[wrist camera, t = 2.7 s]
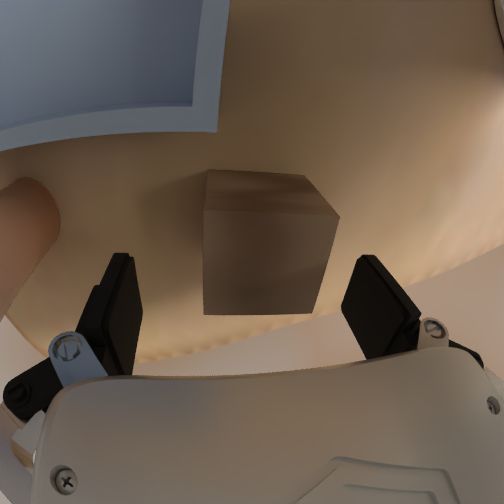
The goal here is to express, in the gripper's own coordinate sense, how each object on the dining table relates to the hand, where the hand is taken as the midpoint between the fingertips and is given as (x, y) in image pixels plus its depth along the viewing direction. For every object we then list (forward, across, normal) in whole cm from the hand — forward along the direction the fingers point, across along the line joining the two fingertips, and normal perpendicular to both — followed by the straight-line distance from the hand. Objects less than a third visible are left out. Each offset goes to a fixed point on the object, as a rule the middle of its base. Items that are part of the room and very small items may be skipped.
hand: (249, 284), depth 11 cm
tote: (+5, +10, -13) cm, 17 cm away
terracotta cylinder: (+5, +13, -1) cm, 14 cm away
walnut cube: (+5, -1, -1) cm, 5 cm away
